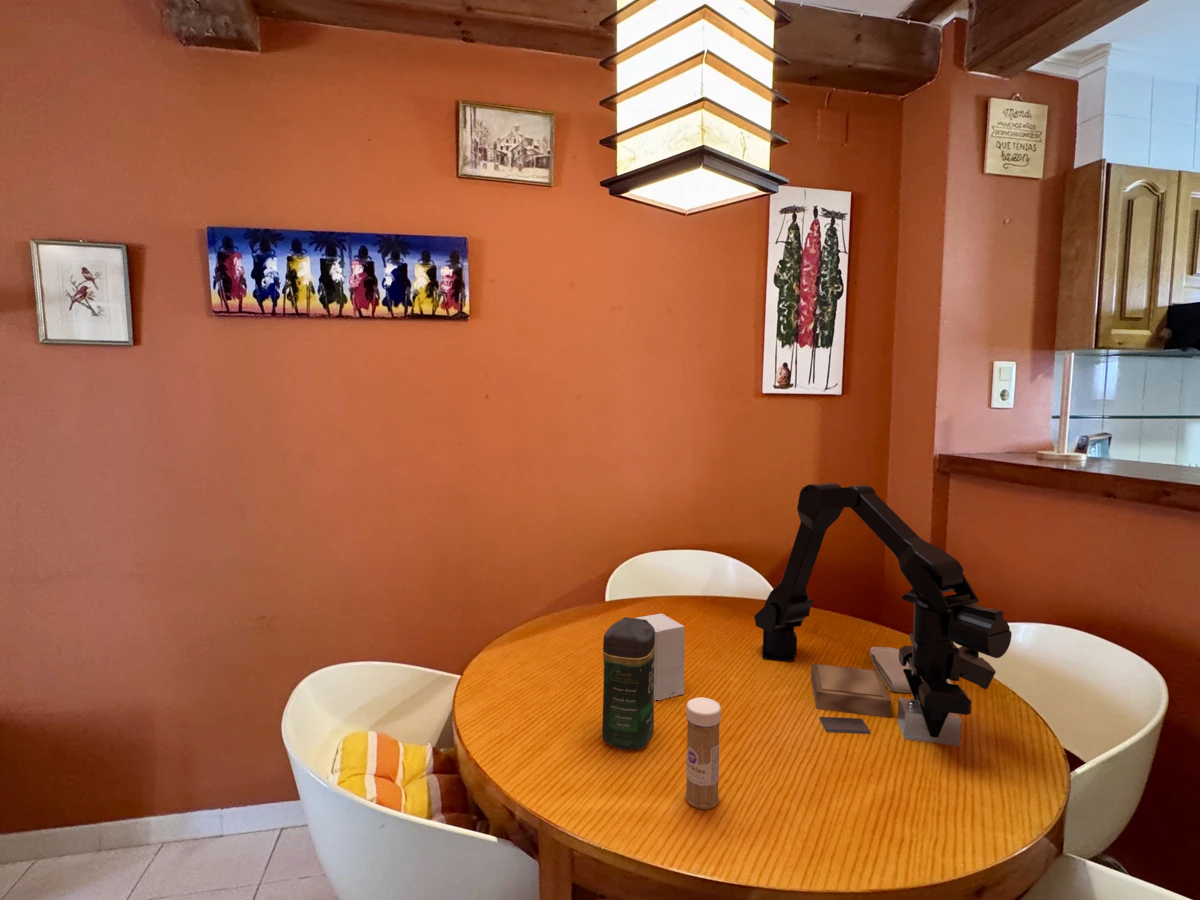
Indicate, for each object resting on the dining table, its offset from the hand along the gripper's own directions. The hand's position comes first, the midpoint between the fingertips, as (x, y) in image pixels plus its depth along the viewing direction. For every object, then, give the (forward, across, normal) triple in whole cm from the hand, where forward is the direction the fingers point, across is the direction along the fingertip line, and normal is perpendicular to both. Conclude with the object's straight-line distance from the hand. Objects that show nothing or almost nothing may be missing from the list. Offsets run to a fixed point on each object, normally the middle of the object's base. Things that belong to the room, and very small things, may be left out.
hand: (929, 728), depth 98 cm
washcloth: (+2, +23, -2) cm, 23 cm away
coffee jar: (+1, -13, +47) cm, 49 cm away
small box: (+1, +4, +45) cm, 45 cm away
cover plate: (+2, -1, +13) cm, 13 cm away
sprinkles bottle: (+1, -26, +34) cm, 43 cm away
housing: (+1, 0, 0) cm, 1 cm away
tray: (+1, +10, +11) cm, 15 cm away
